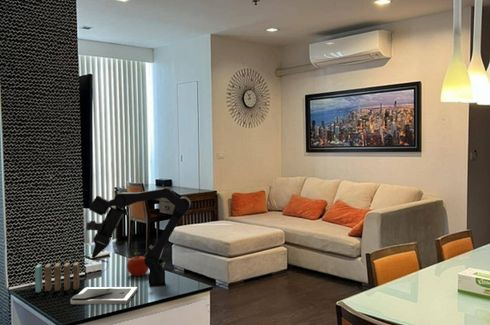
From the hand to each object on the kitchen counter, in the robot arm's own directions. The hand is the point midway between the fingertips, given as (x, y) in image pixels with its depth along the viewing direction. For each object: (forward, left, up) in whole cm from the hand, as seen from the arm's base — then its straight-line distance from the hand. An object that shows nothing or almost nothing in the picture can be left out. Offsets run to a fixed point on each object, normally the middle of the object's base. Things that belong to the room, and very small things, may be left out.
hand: (94, 255), depth 192 cm
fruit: (-17, -14, -13) cm, 26 cm away
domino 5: (+7, -1, -13) cm, 15 cm away
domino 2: (+18, -1, -13) cm, 22 cm away
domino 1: (+22, -1, -13) cm, 25 cm away
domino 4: (+11, -1, -13) cm, 17 cm away
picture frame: (-5, +14, -14) cm, 20 cm away
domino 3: (+14, -1, -13) cm, 20 cm away
